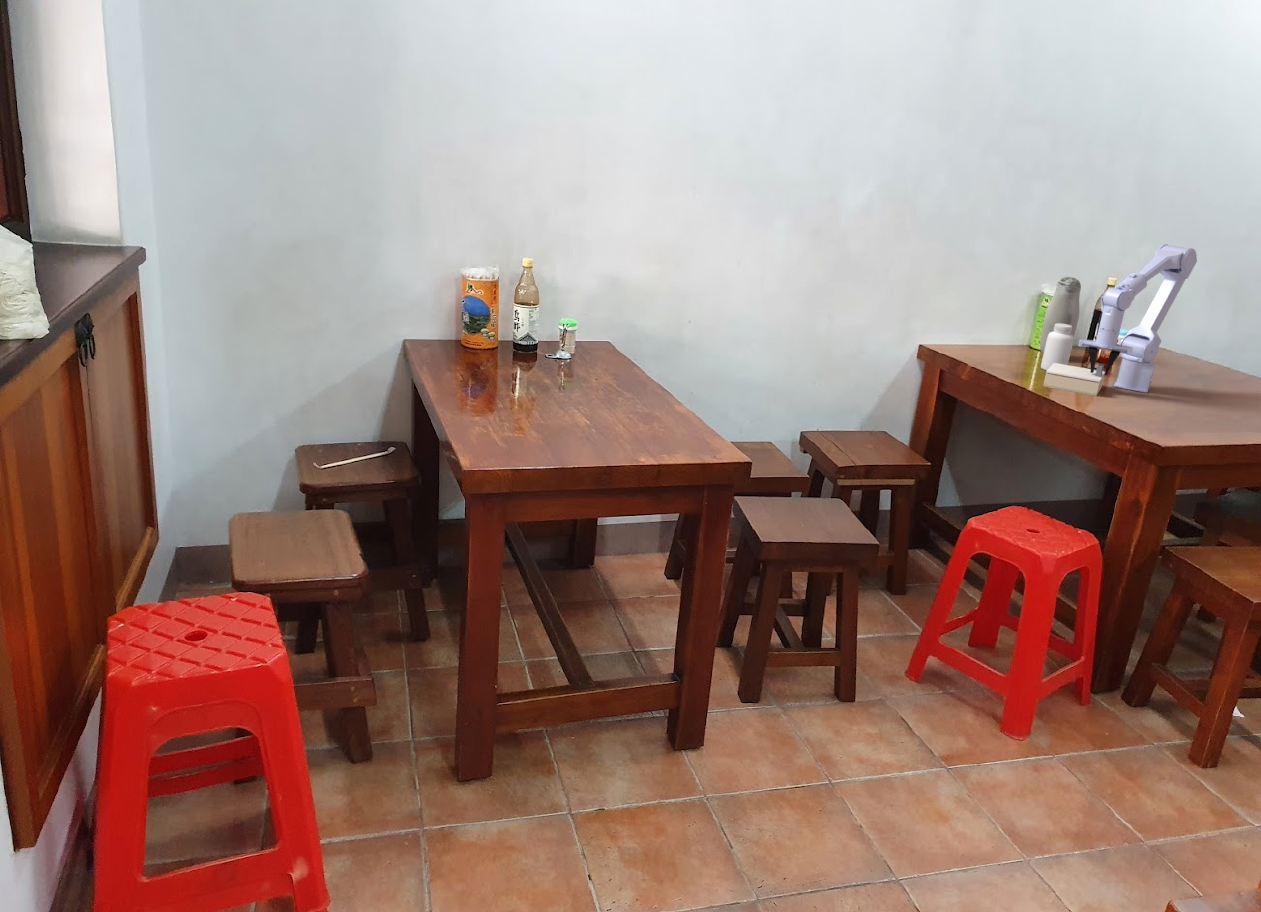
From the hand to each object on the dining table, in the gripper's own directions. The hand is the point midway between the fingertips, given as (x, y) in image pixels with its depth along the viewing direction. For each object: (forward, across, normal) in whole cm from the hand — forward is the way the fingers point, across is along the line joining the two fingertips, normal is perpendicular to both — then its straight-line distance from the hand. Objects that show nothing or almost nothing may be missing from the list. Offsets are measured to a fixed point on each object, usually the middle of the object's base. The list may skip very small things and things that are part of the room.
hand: (1098, 373), depth 289 cm
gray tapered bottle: (+6, -18, +37) cm, 41 cm away
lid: (+1, -6, 0) cm, 6 cm away
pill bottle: (+6, -15, +19) cm, 25 cm away
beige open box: (+5, -6, 0) cm, 8 cm away
